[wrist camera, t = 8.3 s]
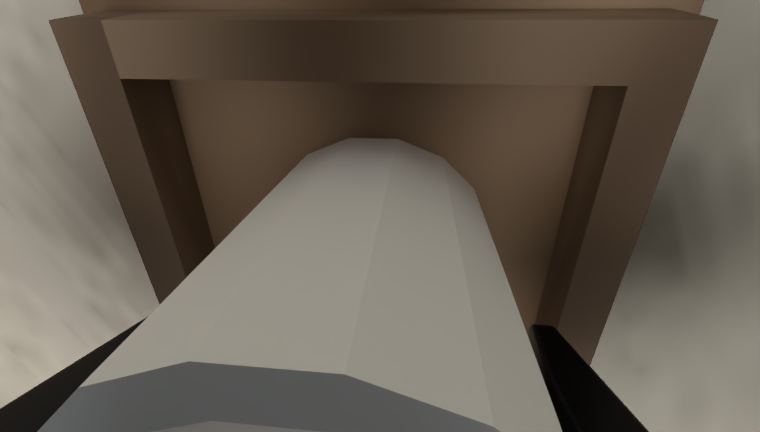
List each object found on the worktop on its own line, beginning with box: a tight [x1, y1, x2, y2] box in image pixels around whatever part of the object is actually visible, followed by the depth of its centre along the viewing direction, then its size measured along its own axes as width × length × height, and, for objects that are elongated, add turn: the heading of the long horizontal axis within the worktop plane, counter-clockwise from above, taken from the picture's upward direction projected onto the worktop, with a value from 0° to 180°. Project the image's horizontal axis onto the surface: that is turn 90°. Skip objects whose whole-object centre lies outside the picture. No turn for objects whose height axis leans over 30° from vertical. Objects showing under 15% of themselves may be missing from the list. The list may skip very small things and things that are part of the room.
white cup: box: [37, 138, 563, 432], centre depth 8 cm, size 7×7×7 cm
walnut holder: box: [49, 0, 718, 366], centre depth 11 cm, size 12×12×2 cm
